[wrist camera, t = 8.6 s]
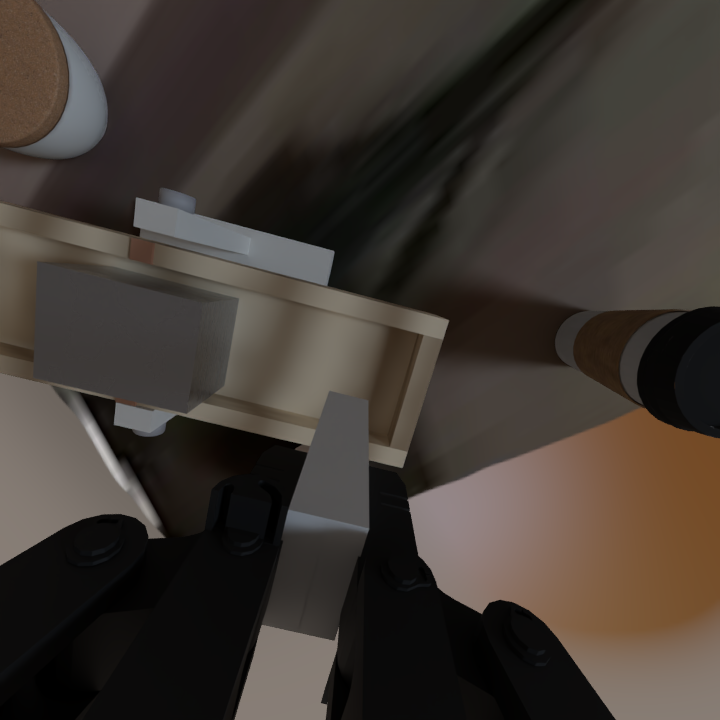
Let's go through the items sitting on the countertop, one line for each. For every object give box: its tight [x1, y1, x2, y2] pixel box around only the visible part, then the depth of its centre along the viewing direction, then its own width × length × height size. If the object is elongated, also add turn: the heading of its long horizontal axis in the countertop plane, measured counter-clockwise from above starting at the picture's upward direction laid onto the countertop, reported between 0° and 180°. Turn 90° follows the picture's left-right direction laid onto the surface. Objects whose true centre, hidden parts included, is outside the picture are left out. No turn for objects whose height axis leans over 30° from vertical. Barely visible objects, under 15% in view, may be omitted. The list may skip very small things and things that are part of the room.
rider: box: [33, 261, 239, 414], centre depth 19 cm, size 8×6×5 cm
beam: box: [0, 201, 449, 468], centre depth 22 cm, size 36×10×4 cm, turn 76°
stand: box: [114, 188, 335, 436], centre depth 27 cm, size 18×16×14 cm
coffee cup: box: [555, 307, 720, 438], centre depth 27 cm, size 8×8×15 cm
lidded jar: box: [0, 0, 108, 160], centre depth 26 cm, size 11×11×9 cm
